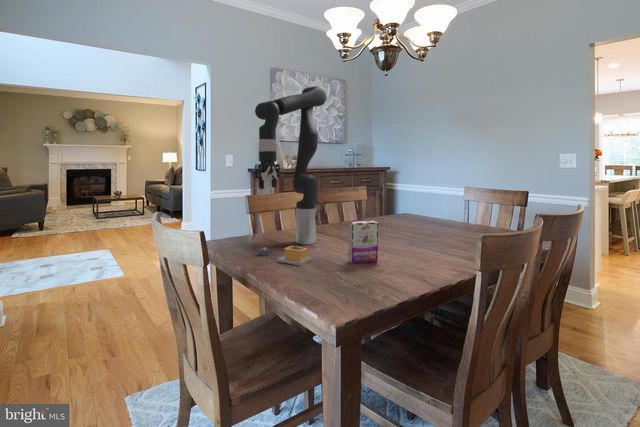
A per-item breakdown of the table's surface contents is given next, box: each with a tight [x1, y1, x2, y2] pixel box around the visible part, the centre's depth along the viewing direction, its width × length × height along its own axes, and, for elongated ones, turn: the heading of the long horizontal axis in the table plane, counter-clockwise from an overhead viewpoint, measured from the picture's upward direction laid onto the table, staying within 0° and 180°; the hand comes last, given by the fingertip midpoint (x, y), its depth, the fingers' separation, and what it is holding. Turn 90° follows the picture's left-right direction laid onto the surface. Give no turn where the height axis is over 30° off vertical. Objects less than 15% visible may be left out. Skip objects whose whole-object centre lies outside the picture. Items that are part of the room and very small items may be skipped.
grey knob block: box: [257, 247, 270, 257], centre depth 160 cm, size 4×3×3 cm
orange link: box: [283, 245, 309, 261], centre depth 150 cm, size 5×8×4 cm, turn 59°
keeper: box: [277, 245, 315, 267], centre depth 150 cm, size 10×11×6 cm
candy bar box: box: [347, 220, 379, 265], centre depth 149 cm, size 11×5×16 cm, turn 105°
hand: (267, 188), depth 161 cm, fingers open, 8 cm apart
